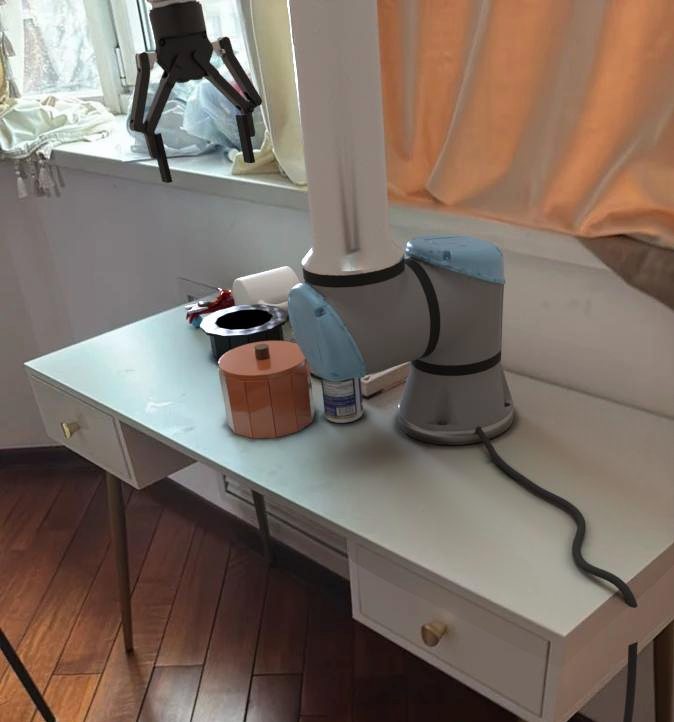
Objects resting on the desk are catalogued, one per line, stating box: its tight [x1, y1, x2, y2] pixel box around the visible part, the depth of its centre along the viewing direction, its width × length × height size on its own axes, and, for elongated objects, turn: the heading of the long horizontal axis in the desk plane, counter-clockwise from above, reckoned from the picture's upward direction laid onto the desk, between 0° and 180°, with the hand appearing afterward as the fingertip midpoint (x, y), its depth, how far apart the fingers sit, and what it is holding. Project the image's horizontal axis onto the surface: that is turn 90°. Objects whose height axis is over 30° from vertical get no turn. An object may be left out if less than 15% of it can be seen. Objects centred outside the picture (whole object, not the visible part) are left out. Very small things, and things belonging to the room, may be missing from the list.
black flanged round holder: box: [199, 304, 289, 364], centre depth 139 cm, size 14×14×6 cm
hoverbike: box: [184, 287, 235, 328], centre depth 152 cm, size 5×12×6 cm, turn 113°
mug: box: [231, 265, 300, 316], centre depth 149 cm, size 12×10×8 cm
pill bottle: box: [320, 376, 364, 424], centre depth 116 cm, size 5×5×10 cm
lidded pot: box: [218, 340, 316, 439], centre depth 117 cm, size 12×12×10 cm
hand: (209, 172), depth 129 cm, fingers open, 13 cm apart
